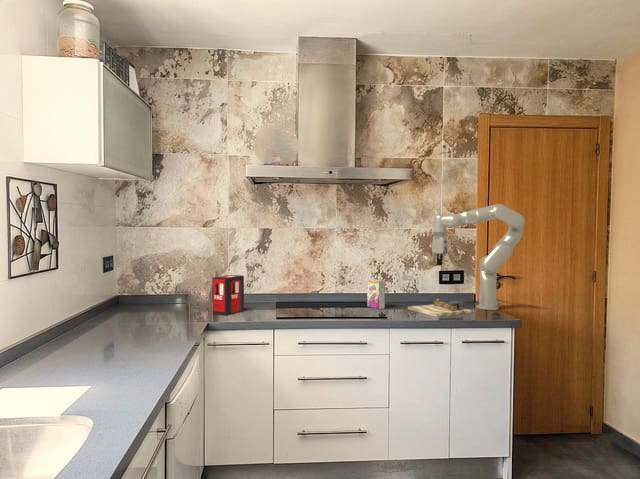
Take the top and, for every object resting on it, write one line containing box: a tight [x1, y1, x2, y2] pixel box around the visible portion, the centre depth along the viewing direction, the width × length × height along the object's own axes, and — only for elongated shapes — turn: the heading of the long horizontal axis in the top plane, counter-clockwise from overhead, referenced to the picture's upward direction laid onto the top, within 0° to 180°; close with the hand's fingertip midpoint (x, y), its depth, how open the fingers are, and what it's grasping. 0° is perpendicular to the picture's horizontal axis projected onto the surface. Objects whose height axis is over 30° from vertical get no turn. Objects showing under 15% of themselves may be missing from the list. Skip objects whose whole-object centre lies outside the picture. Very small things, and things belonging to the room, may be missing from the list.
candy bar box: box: [366, 278, 386, 310], centre depth 293 cm, size 11×5×16 cm, turn 34°
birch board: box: [407, 304, 473, 317], centre depth 284 cm, size 26×25×2 cm
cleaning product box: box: [211, 274, 245, 317], centre depth 271 cm, size 16×9×20 cm, turn 154°
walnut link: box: [433, 298, 457, 310], centre depth 286 cm, size 20×5×4 cm, turn 17°
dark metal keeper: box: [447, 300, 465, 310], centre depth 280 cm, size 9×4×4 cm, turn 118°
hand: (439, 265), depth 300 cm, fingers closed
